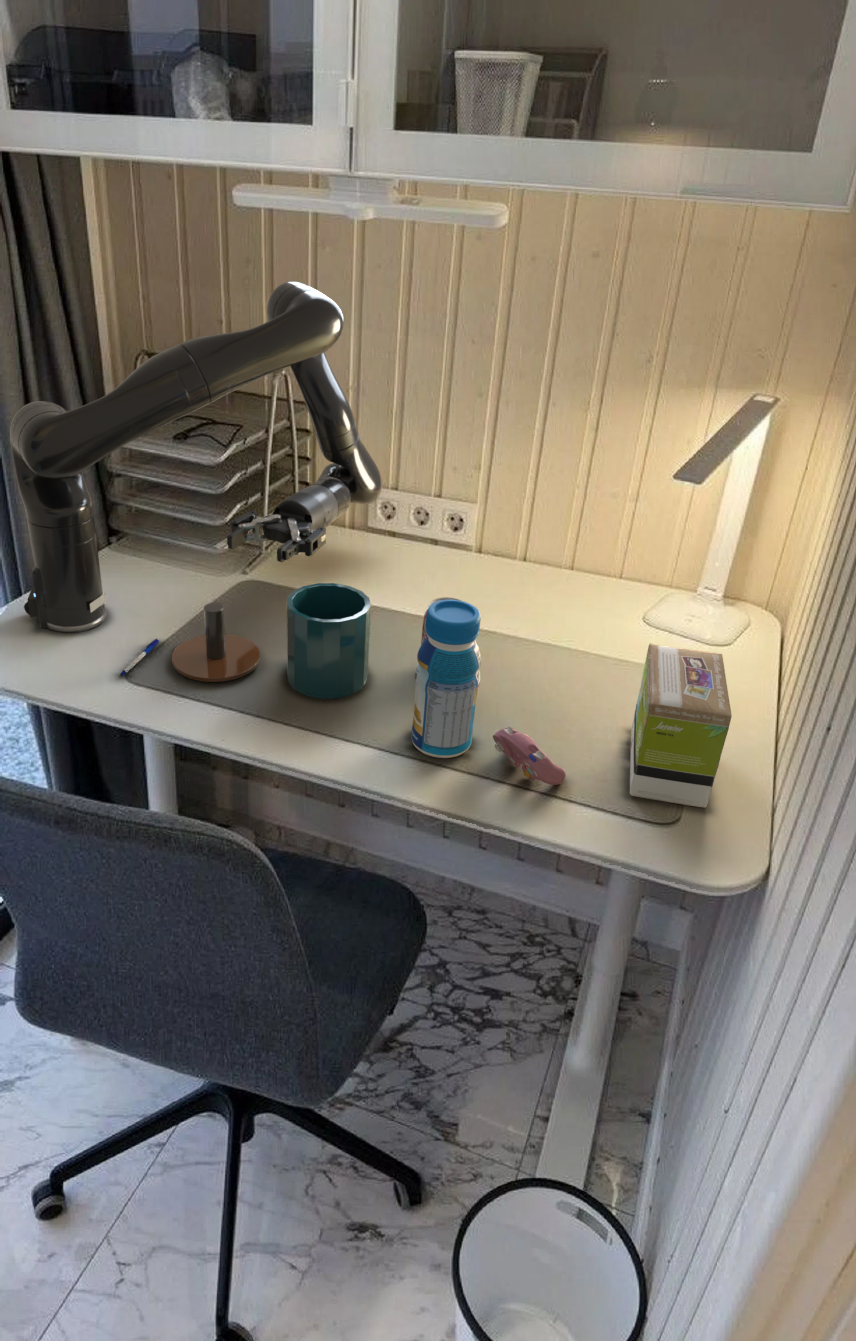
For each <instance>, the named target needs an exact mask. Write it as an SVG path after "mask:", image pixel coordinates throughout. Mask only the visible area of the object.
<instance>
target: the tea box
mask: <svg viewBox="0 0 856 1341" xmlns="http://www.w3.org/2000/svg"><path fill="white" fill-rule="evenodd" d="M641 675H642V676H641V681H640V686H639V689H638V695H637V700H636V704H635V710H634V714H633V720H632V725H631V731H630V760H629V761H630V763H629V795H630V796H632V797H636V798H642V799H647V800H654V801H660V802H666V803H672V804H679V805H684V806H691V807H696V808H707V807H708V803H709V800H710V797H711V793H712V790H713V785H714V782H715V778H716V775H717V772H718V768H719V765H720V760H721V757H722V753H723V749H724V746H725V743H726V739H727V735H728V733H729V728H730V724H731V720H732V709H731V703H730V696H729V691H728V690H729V689H728V684H727V676H726V670H725V664H724V657H723V654H722V653H720V652H719V653H718V652H711V651H703V650H697V649H688V648H682V647H681V648H680V647H673V646H667V645H659V644H653V643H649V644H648V647H647V652H646V657H645V661H644V667H643V671H642V674H641Z"/></svg>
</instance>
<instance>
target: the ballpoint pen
mask: <svg viewBox="0 0 856 1341" xmlns="http://www.w3.org/2000/svg"><path fill="white" fill-rule="evenodd" d="M159 643H160V640H159V639H158V638H155V639H153V640H152V641H151V642H150V643H149V644H148V645H147V646H146V647H145V648H144V649H143V650H142V652H140V654H139V655H137V657H135V658H134V659H133V660H132V661H131V662H130V663H129V664H128V665H126V667H125V668H124V669H122V671H121V672H120V674H119V676H120V677H123V676H125V675H126V674H127V673H128V672H129V671H130V670H131V669H133V667H135V666H136V665H137V664H138V663H139V662H140V661H141V660H142V659H143V658H144V657H145V656H147V655H148V654H150V653H151V651H153V649H154V648H156V647H157V645H158V644H159Z"/></svg>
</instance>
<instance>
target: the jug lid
mask: <svg viewBox="0 0 856 1341" xmlns="http://www.w3.org/2000/svg"><path fill="white" fill-rule="evenodd" d="M203 617H204V619H203V620H204V634H202V635H197V636H193V637H191V638H189V639H186V640H184V641H183V642H181V643H180V644H178V645H177V646H176V647H175V648H174V649H173V651H172V652H171V665H172V667H173V668H174V670H175V671H176V672H177V673H178V674H180V675H182V676H183V677H186V678H188V679H191V680H194V681H198V682H207V683H208V682H209V683H218V682H227V681H232V680H235V679H240V678H242V677H245V676H246V675H248V674H250V673H252V672H253V671H254V670H256V668H257V667H258V666H259V665H260V662H261V651H260V649H259V647H258V646H257V645H256V644H255V643H254V642H253V641H251V640H249V639H248V638H245V637H243V636H240V635H235V634H231V633H226V626H225V624H226V623H225V607H224V605H223V604H221V603H219V602H209V603H206V604H205V605H204V606H203Z"/></svg>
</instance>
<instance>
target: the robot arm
mask: <svg viewBox="0 0 856 1341" xmlns="http://www.w3.org/2000/svg"><path fill="white" fill-rule="evenodd" d="M266 317H267V321H266V322H264V323H261V324H260V325H257V326H254V327H252V328H249V329H244V330H239V331H231V332H225V333H218V334H217V333H216V334H211V335H204V336H203V335H202V336H199V337H194V338H191V339H188V340H185V341H183V342H180V343H178V344H176V345H174V346H171V347H169V348H166V349H164V350H163V351H160V352H159V353H157V354H154V355H152V356H151V357H149V358H148V359H146V360H145V361H143V362H142V363H141V364H140V365H139V366H138V367H136V368H135V369H134V370H133V371H132V372H131V373H130V374H129V375H128V376H127V377H126V378H125V379H124V380H122V382H120V384H118V386H116V388H115V387H114V389H113V390H111V391H110V392H109V393H107V394H105V395H104V396H102V397H100V398H98V399H96V400H93V401H91V402H88V403H86V404H84V405H82V406H79V407H77V408H73V409H71V410H68V411H67V410H66V409H65V408H64V407H62V406H61V405H59V404H56V403H54V402H52V401H47V400H37V401H32V402H29V403H27V404H25V405H23V406H22V407H21V408H20V409H18V410H17V412H16V413H15V414H14V416H13V418H12V420H11V423H10V427H9V441H10V442H9V443H10V448H11V455H12V460H13V465H14V470H15V471H14V472H15V477H16V480H17V487H18V491H19V495H20V497H21V500H22V504H23V506H24V510H25V511H24V512H25V516H26V522H27V528H28V533H29V534H28V535H29V540H30V547H31V552H32V560H33V567H32V570H31V578H32V584H33V586H32V587H31V589H30V592H29V595H28V596H27V601H26V602H25V603H24V606H23V610H24V612H25V613H26V614H27V615H28V616H29V617H30V618H38V620H39V627H40V628H41V629H50V630H52V631H54V632H58V633H59V632H60V633H79V632H83V631H89V630H92V629H93V628H96V627H98V626H99V625H101V624H102V623H104V622H105V620H106V618H107V610H106V605H105V603H106V602H107V599H106V593H104V591H103V590H104V589H103V582H102V574H101V566H100V559H99V558H100V556H99V549H98V542H97V533H96V525H95V518H94V517H95V516H94V508H93V502H92V501H93V500H92V497H91V495H90V491H89V489H88V486H87V483H86V480H85V477H84V472H83V471H85V470H87V469H89V468H90V467H92V466H93V465H95V464H96V463H98V462H100V461H101V460H103V459H105V458H106V457H107V456H110V454H112V453H114V452H116V451H117V450H118V449H120V448H122V447H123V446H125V445H127V444H129V443H131V442H133V441H134V440H137V439H139V438H140V437H142V436H145V435H147V434H150V433H152V432H153V431H156V430H158V429H160V428H162V427H164V426H166V425H168V424H170V423H172V422H174V421H176V420H178V419H181V418H183V417H186V416H188V415H190V414H192V413H194V412H196V411H197V410H200V409H202V408H204V407H205V406H208V405H210V404H212V403H213V402H216V401H217V400H219V399H221V398H223V397H225V396H227V395H229V394H231V393H233V392H236V391H237V390H239V389H241V388H242V389H243V387H245V386H248V385H250V384H252V383H254V382H256V381H257V380H260V379H262V378H263V377H265V376H268V375H270V374H272V373H275V372H278V371H281V370H283V369H286V368H289V367H290V369H291V371H292V373H293V375H294V378H295V380H296V382H297V385H298V388H299V390H300V393H301V395H302V398H303V401H304V403H305V406H306V408H307V412H308V414H309V417H310V420H311V424H312V427H313V431H314V432H315V437H316V440H317V444H318V447H319V449H320V452H321V454H322V457H323V458H324V459H325V460H327V461H328V462H331V463H329V464H328V465H326V466H325V467H324V469H323V470H322V472H321V474H320V475H319V477H318V479H317V480H316V481H315V482H314V483H312V484H311V485H309V486H306V487H304V488H301V489H300V490H298V491H296V492H295V493H293V494H292V495H290V496H288V497H287V498H285V499H284V500H282V501H281V502H279V503H278V504H277V505H276V507H275V509H274V510H273V512H272V513H271V514H269V515H265V516H263V517H261V516H259V515H258V512H257V510H253V509H252V510H249V511H247V512H245V513H243V514H241V515H240V516H237V517H236V518H234V519H232V520H231V521H230V526H231V527H230V529H231V531H230V532H231V533H229V534H227V535H226V543H227V549H229V550H235V549H237V548H238V547H240V546H241V545H243V544H244V543H246V542H250V541H255V542H256V543H260V542H262V543H263V542H268V541H273V542H277V543H280V544H281V545H280V546H279V547H277V550H276V561H277V562H279V563H284V562H285V561H288V560H290V559H291V558H293V557H294V556H299V555H301V554H302V553H304V555H305V556H306V557H312V556H313V555H314V554H316V553H317V552H318V551H319V550H320V549H321V548H322V547H323V546H325V545H326V544H327V528H329V527H330V526H331V525H332V524H333V522H335V521H336V520H337V519H338V518H340V517H342V515H344V514H345V513H346V512H347V511H348V510H349V508H350V507H351V504H355V505H356V504H358V505H370V504H373V503H374V502H375V501H377V499H378V498H379V497H380V496H381V493H382V488H383V481H382V476H381V472H380V470H379V467H378V465H377V463H376V462H375V460H374V459H373V457H372V456H371V454H370V452H369V451H368V450H367V448H366V446H365V444H364V443H363V442H362V440H361V437H360V435H359V431H358V426H357V423H356V420H355V416H354V413H353V410H352V408H351V405H350V403H349V401H348V399H347V397H346V395H345V393H344V390H343V389H342V387H341V384H340V383H339V381H338V379H337V378H336V376H335V373H334V371H333V369H332V368H331V365H330V362H329V360H328V358H327V355H326V352H328V351H329V350H330V349H332V348H333V347H334V346H335V345H336V344H337V342H338V341H339V340H340V338H341V336H342V333H343V330H344V325H345V318H344V314H343V312H342V310H341V308H340V307H339V305H338V304H337V303H336V302H335V301H334V300H333V299H332V298H330V297H329V296H327V295H326V294H324V293H323V292H321V291H319V290H317V289H316V288H314V287H312V286H310V285H308V284H306V283H303V282H301V281H296V280H295V281H294V280H291V281H289V280H288V281H286V282H283V283H281V284H279V285H278V286H277V287H276V288H275V289H274V290H273V291H272V292H271V294H270V295H269V298H268V301H267V305H266ZM260 527H261V528H260ZM261 529H262V534H261V533H260V532H261V531H260V530H261ZM250 531H252V533H250V534H248V532H250Z"/></svg>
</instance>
